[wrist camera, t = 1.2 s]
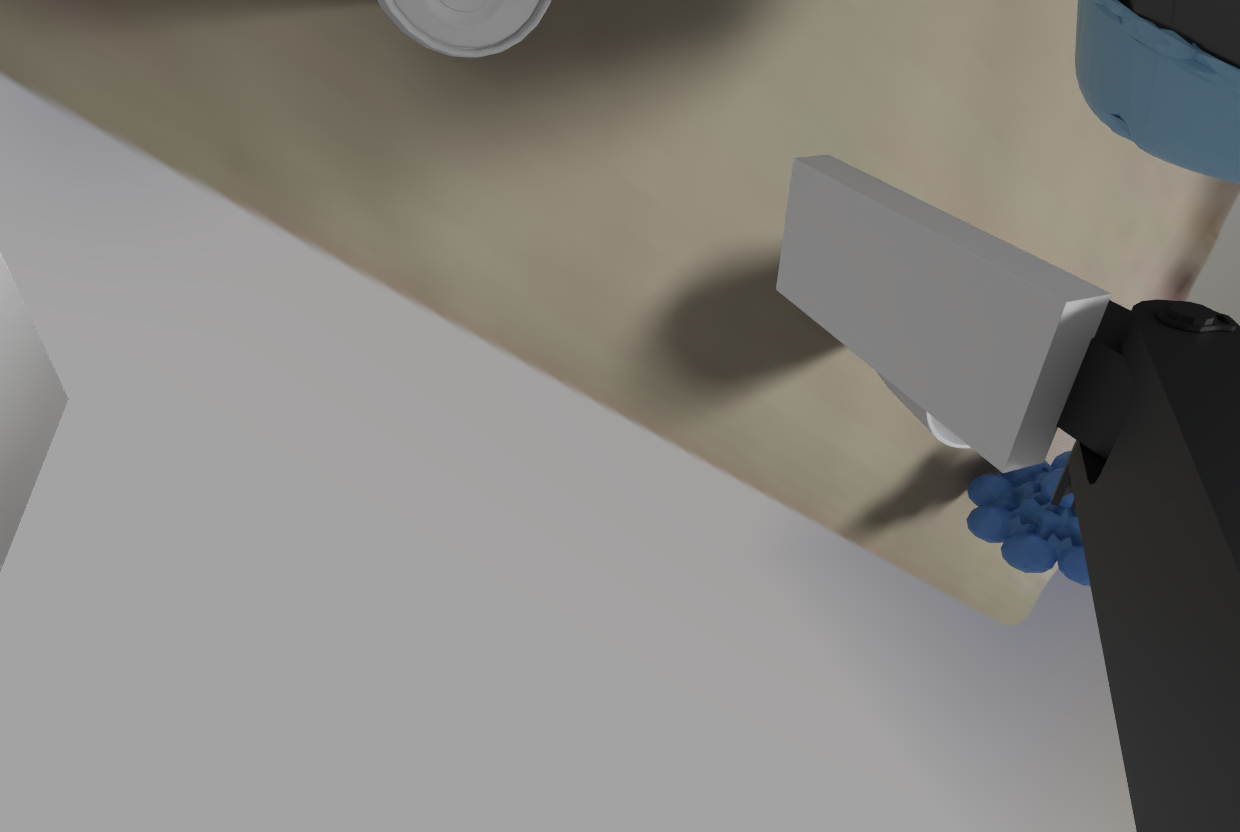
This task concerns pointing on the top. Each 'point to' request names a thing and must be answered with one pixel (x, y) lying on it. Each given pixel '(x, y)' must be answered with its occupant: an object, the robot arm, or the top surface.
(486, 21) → the beverage can
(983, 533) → the grapes
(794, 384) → the top surface
